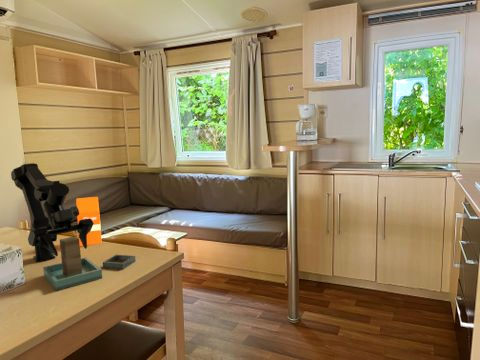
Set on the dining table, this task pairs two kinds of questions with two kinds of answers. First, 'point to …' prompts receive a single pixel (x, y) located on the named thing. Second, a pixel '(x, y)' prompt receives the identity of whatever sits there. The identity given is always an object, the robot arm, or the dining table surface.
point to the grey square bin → (126, 258)
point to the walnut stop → (70, 256)
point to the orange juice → (90, 210)
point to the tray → (61, 281)
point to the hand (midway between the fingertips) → (72, 251)
